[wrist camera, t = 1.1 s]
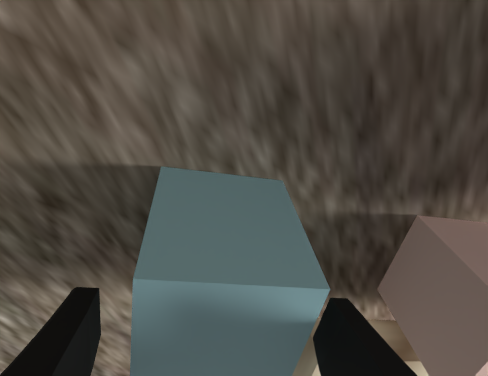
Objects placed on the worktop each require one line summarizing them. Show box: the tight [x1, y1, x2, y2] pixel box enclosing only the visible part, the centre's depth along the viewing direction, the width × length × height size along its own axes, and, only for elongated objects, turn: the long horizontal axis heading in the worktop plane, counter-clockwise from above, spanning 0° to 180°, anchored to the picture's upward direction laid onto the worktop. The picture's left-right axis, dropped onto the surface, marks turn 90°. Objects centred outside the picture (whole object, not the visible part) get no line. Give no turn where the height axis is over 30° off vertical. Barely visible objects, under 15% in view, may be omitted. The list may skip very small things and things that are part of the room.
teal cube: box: [130, 166, 330, 376], centre depth 12 cm, size 5×5×6 cm
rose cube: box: [377, 215, 488, 376], centre depth 15 cm, size 5×5×6 cm
